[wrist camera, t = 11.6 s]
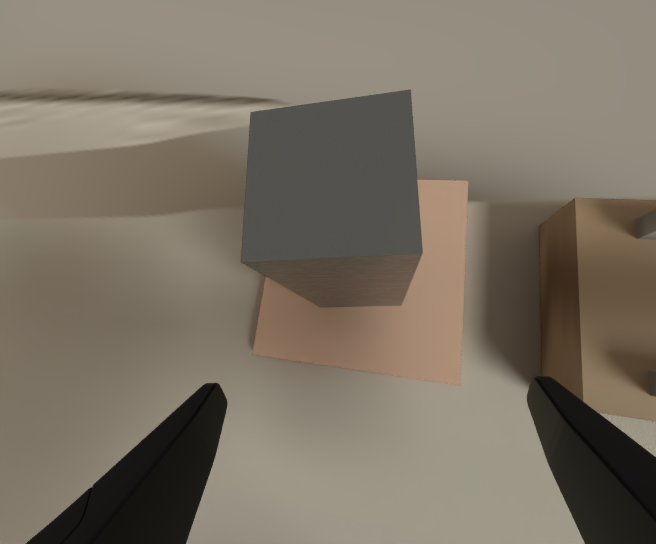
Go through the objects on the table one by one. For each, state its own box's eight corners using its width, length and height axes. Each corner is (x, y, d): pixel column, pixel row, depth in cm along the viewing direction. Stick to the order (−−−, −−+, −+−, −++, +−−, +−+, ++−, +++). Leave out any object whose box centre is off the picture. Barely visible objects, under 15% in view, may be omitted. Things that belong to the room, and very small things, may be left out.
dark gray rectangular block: (401, 305, 15) (423, 252, 6) (320, 307, 16) (241, 262, 7) (396, 217, 16) (408, 68, 7) (320, 222, 17) (252, 92, 8)
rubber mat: (457, 383, 14) (460, 385, 14) (256, 354, 16) (252, 354, 16) (465, 186, 16) (468, 180, 16) (285, 181, 18) (282, 176, 18)
